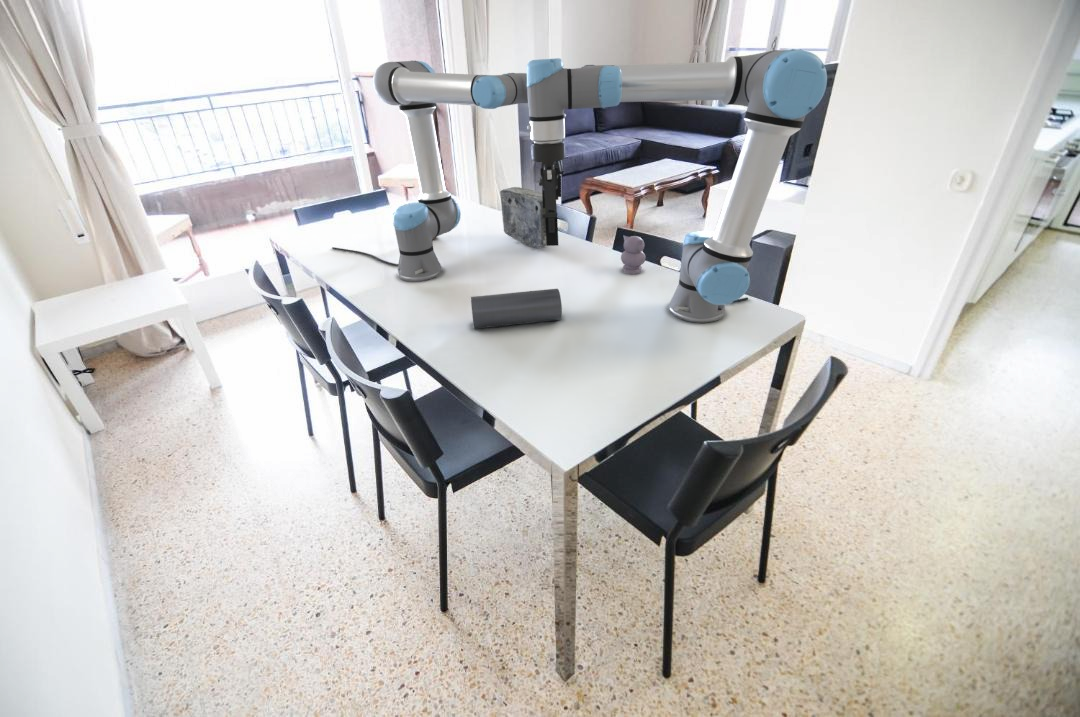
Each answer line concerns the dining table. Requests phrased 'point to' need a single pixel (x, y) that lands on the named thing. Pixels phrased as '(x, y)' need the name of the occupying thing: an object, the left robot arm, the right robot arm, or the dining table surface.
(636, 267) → the cat figurine
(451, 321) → the dining table surface
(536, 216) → the concrete block
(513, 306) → the rod
